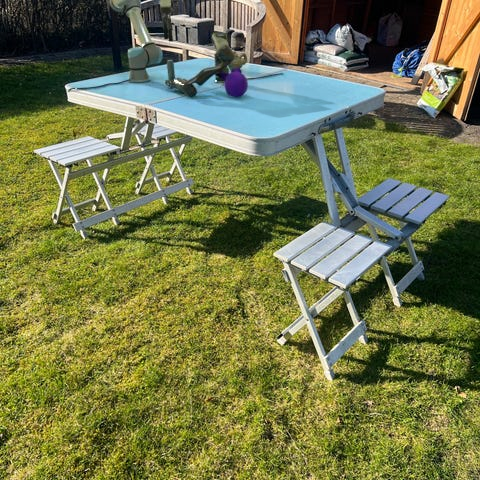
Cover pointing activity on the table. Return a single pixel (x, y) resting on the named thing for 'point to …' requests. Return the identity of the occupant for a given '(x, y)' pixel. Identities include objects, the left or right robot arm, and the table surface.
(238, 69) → the toy
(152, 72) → the table surface
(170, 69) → the bottle
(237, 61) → the teapot
